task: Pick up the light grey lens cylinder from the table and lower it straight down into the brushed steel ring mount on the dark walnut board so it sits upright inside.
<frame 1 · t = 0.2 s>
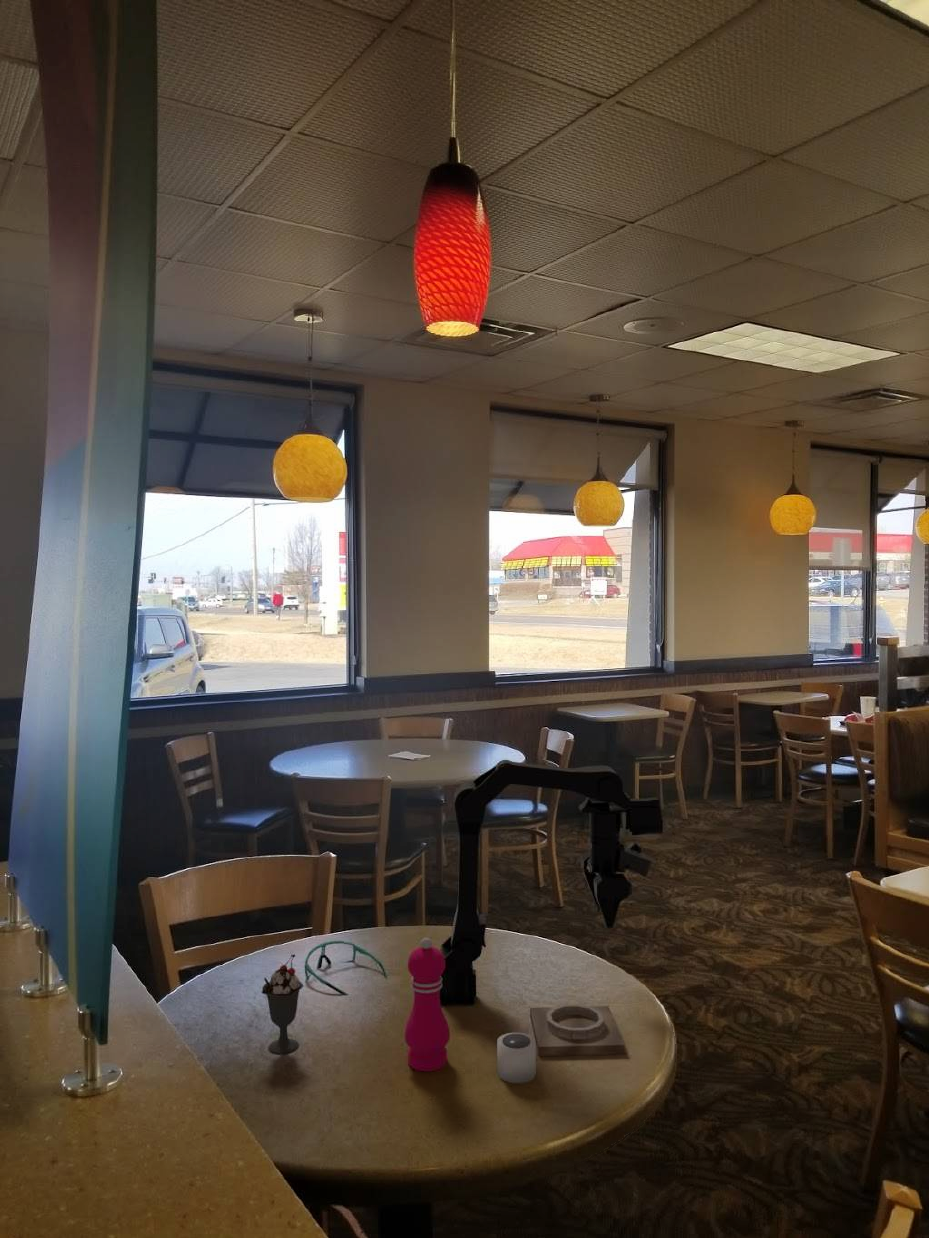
hand: (605, 918, 168), 15 cm above the table, tool pointing down, fingers open, 9 cm apart
pepper mill: (427, 1062, 145), on the table
mount board: (575, 1034, 153), on the table
sundae: (283, 1047, 150), on the table
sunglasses: (344, 978, 178), on the table
lens: (516, 1073, 141), on the table
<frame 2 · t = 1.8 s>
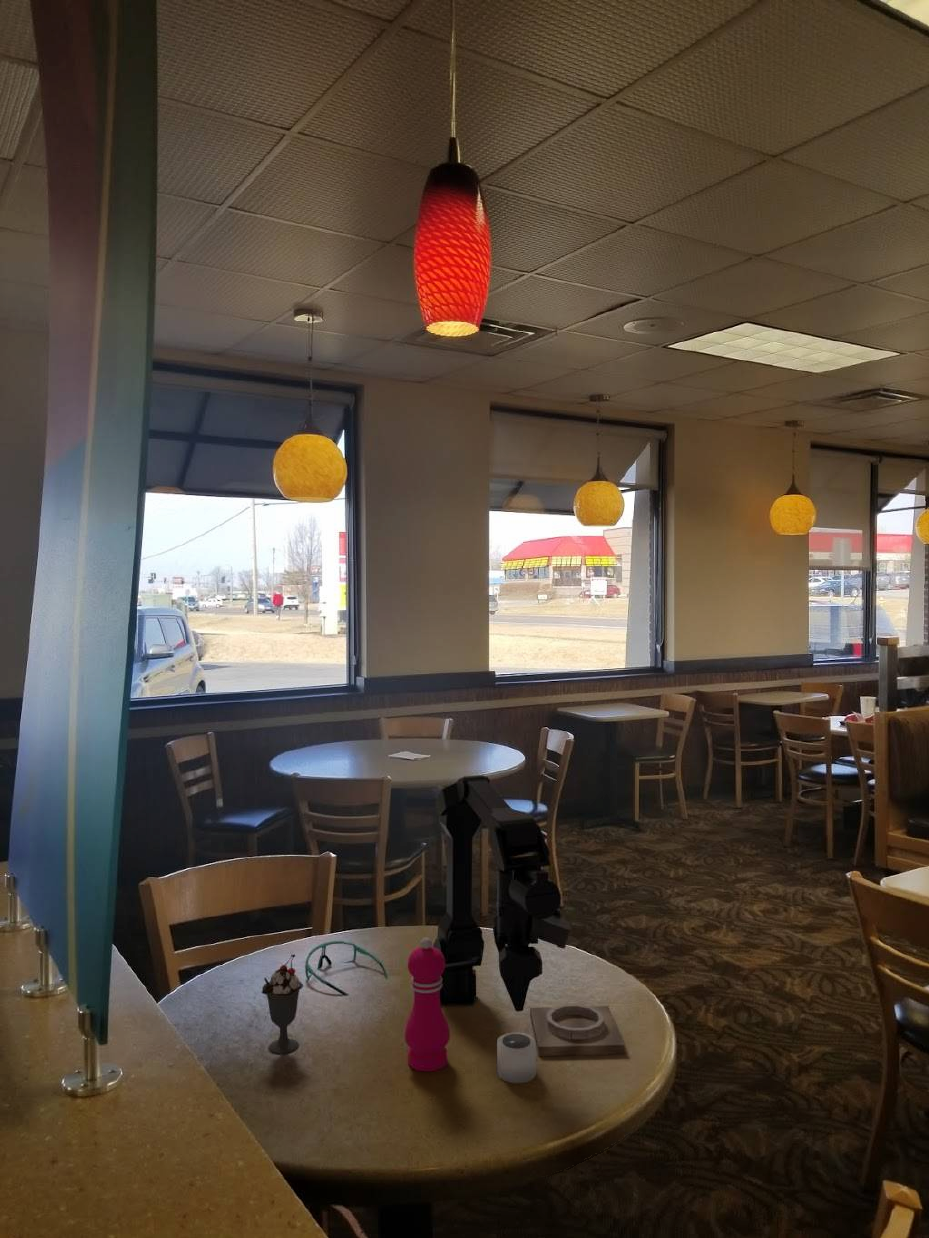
hand: (516, 997, 141), 12 cm above the table, tool pointing down, fingers open, 9 cm apart
nothing on the table moved.
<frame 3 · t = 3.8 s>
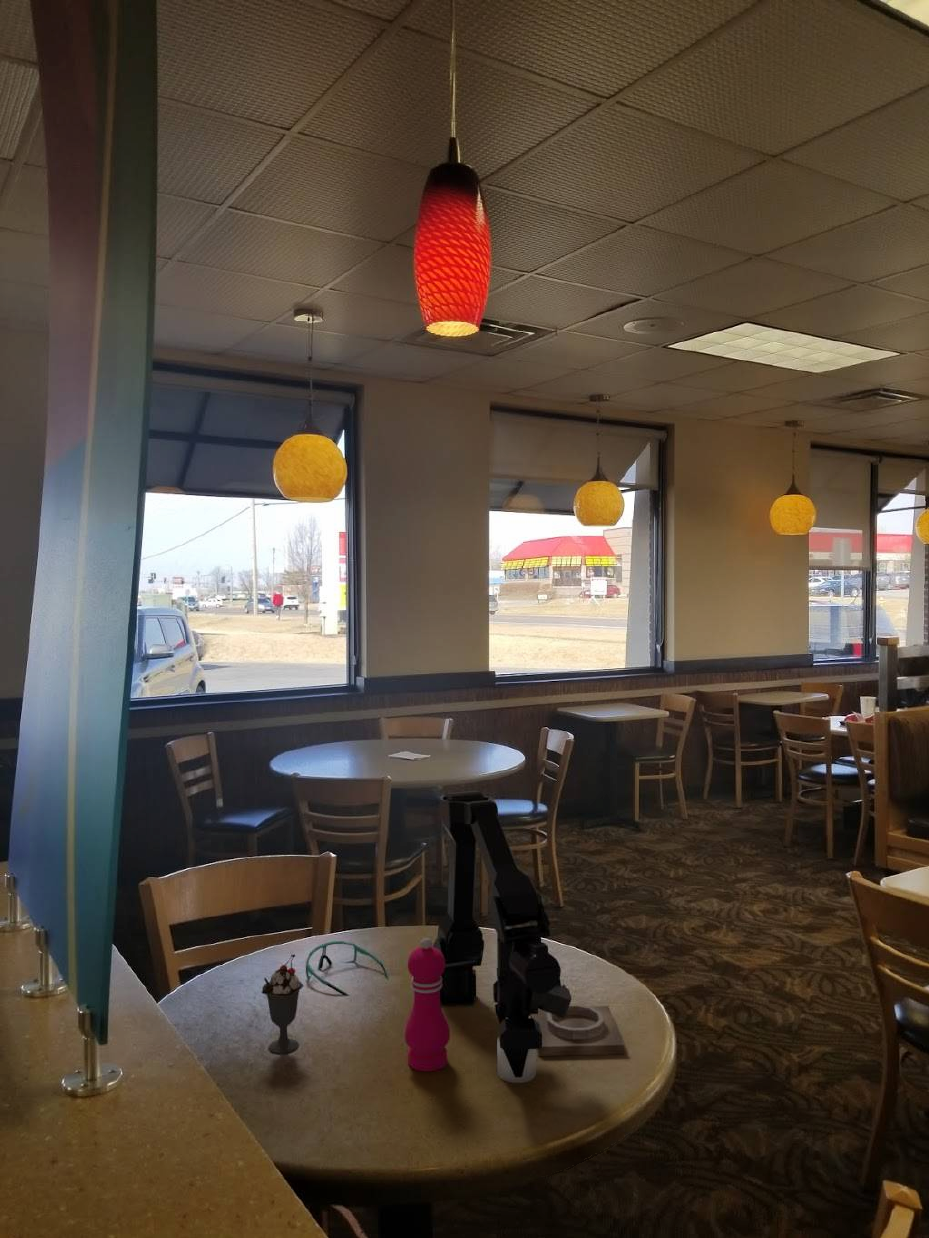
hand: (516, 1066, 141), 1 cm above the table, tool pointing down, fingers closed on lens, 6 cm apart
lens: (516, 1072, 141), on the table, touching gripper
everything else where it was.
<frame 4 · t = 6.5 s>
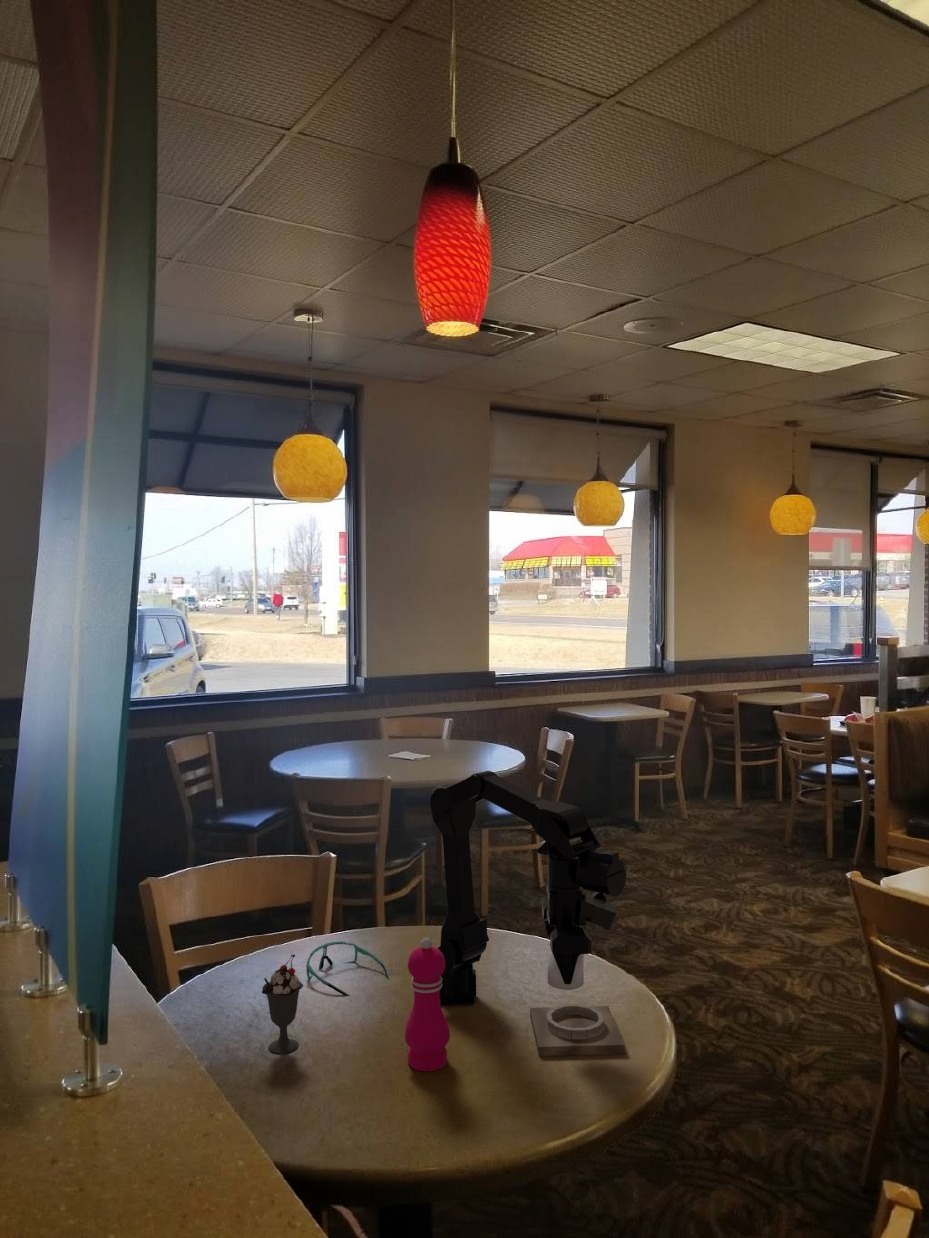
hand: (565, 975, 151), 11 cm above the table, tool pointing down, fingers closed on lens, 6 cm apart
lens: (565, 982, 151), point 10 cm above the table, touching gripper
everything else where it was.
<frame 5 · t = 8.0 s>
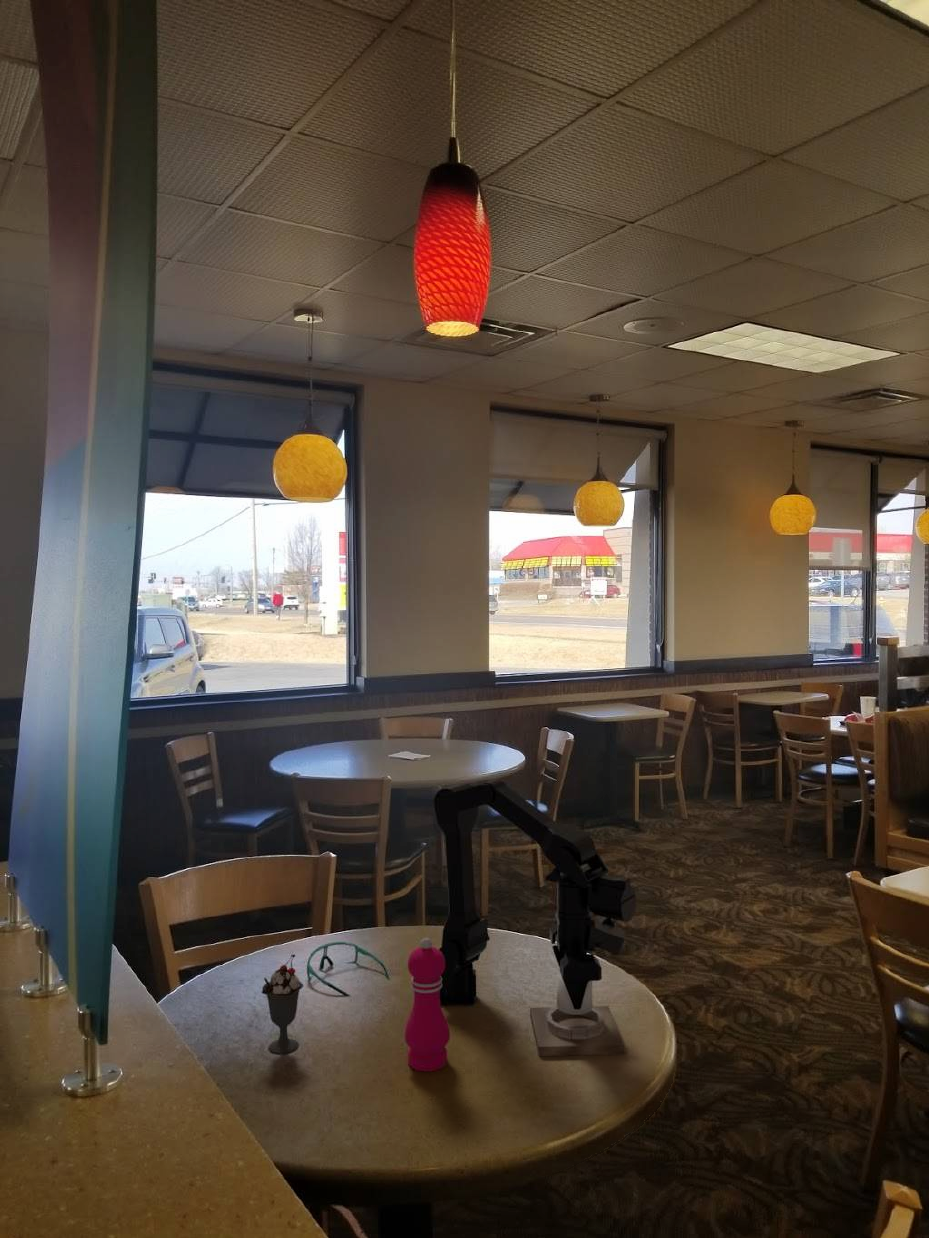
hand: (574, 1000, 153), 6 cm above the table, tool pointing down, fingers closed on lens, 6 cm apart
lens: (574, 1006, 153), point 5 cm above the table, touching gripper
everything else where it was.
when the fingers open (4 cm above the table, at t = 9.3 s): lens drops 1 cm, resting on mount board.
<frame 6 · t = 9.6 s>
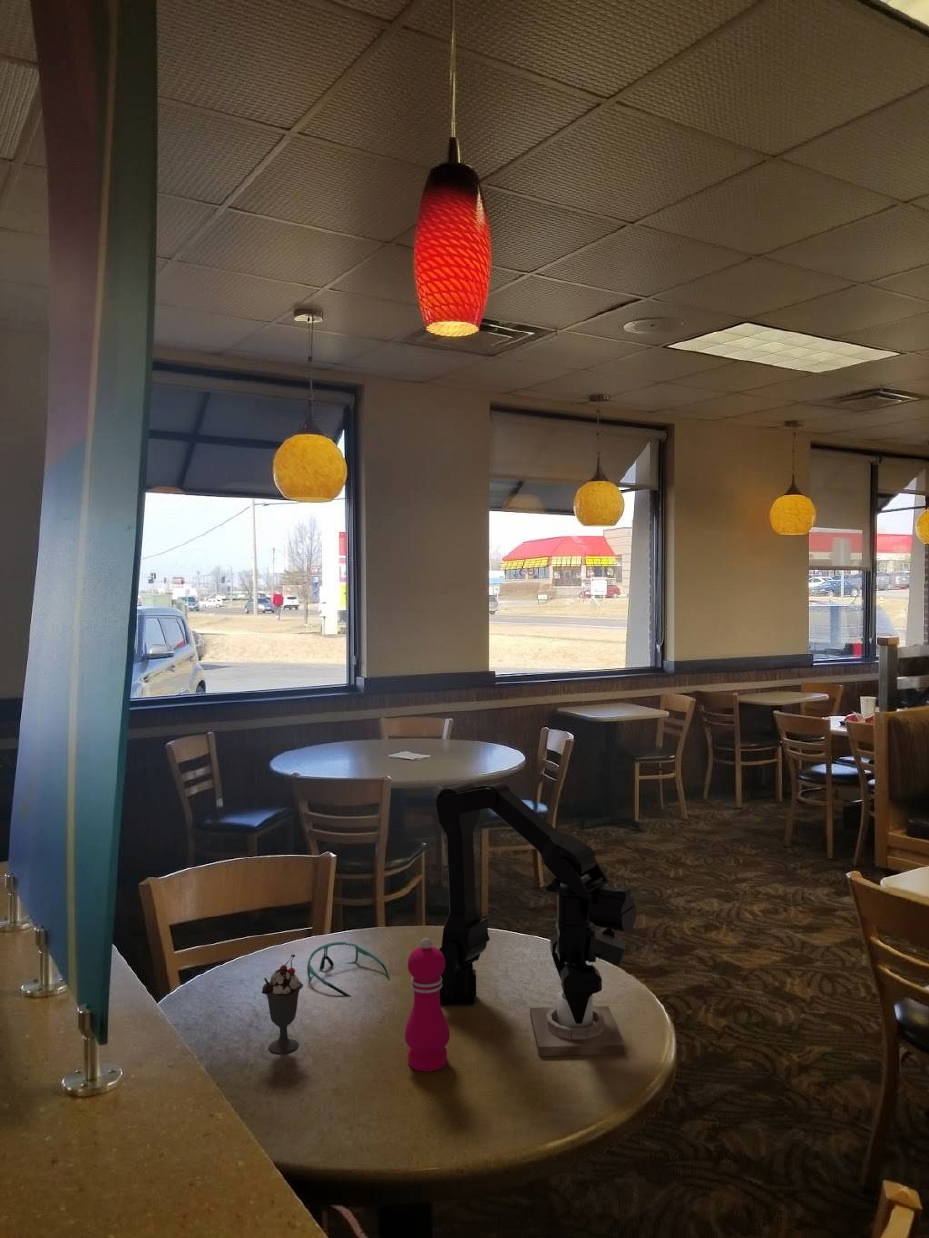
hand: (574, 1010, 153), 4 cm above the table, tool pointing down, fingers open, 9 cm apart
lens: (575, 1025, 153), point 1 cm above the table, touching mount board
everything else where it was.
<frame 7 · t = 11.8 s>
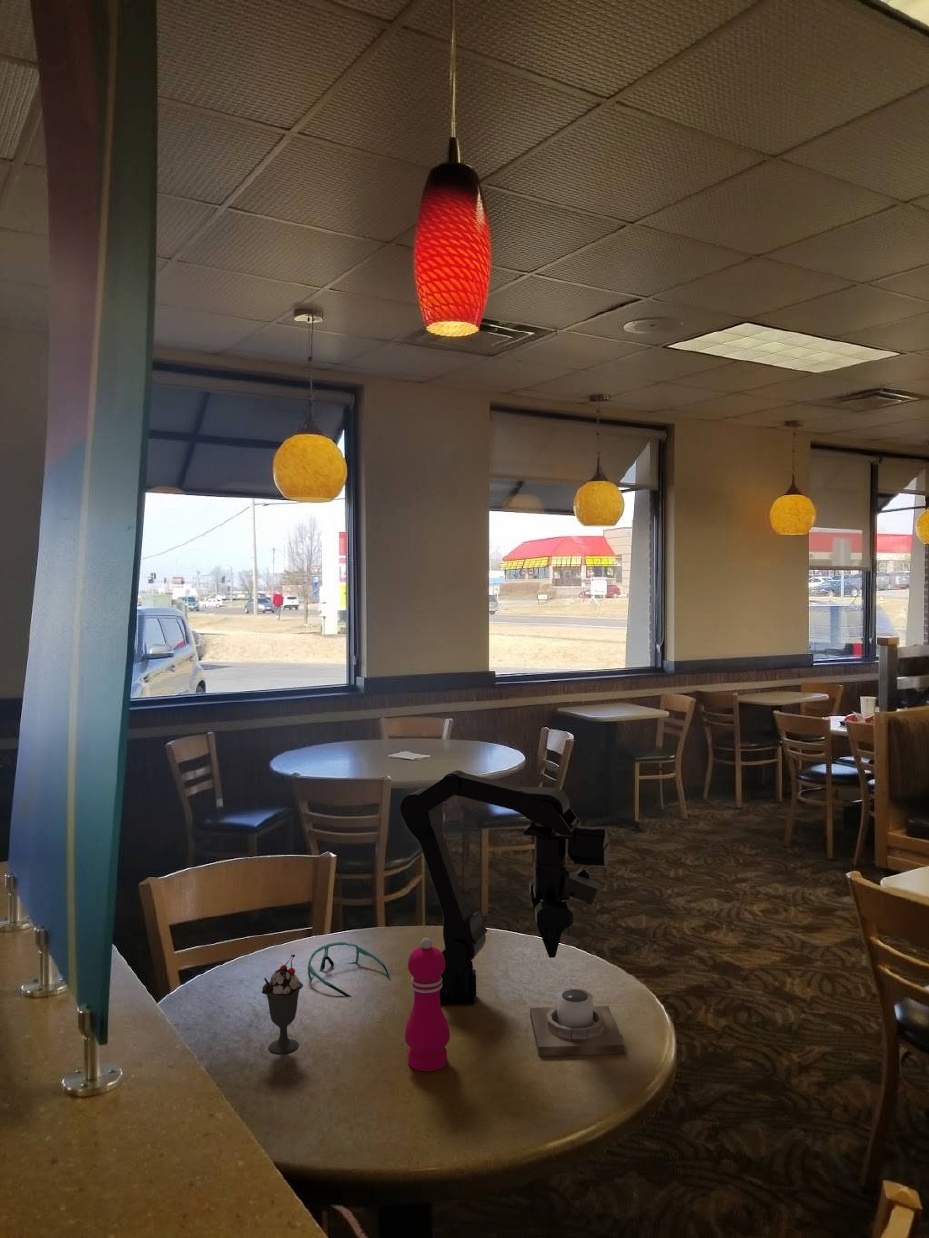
hand: (549, 947, 161), 12 cm above the table, tool pointing down, fingers open, 9 cm apart
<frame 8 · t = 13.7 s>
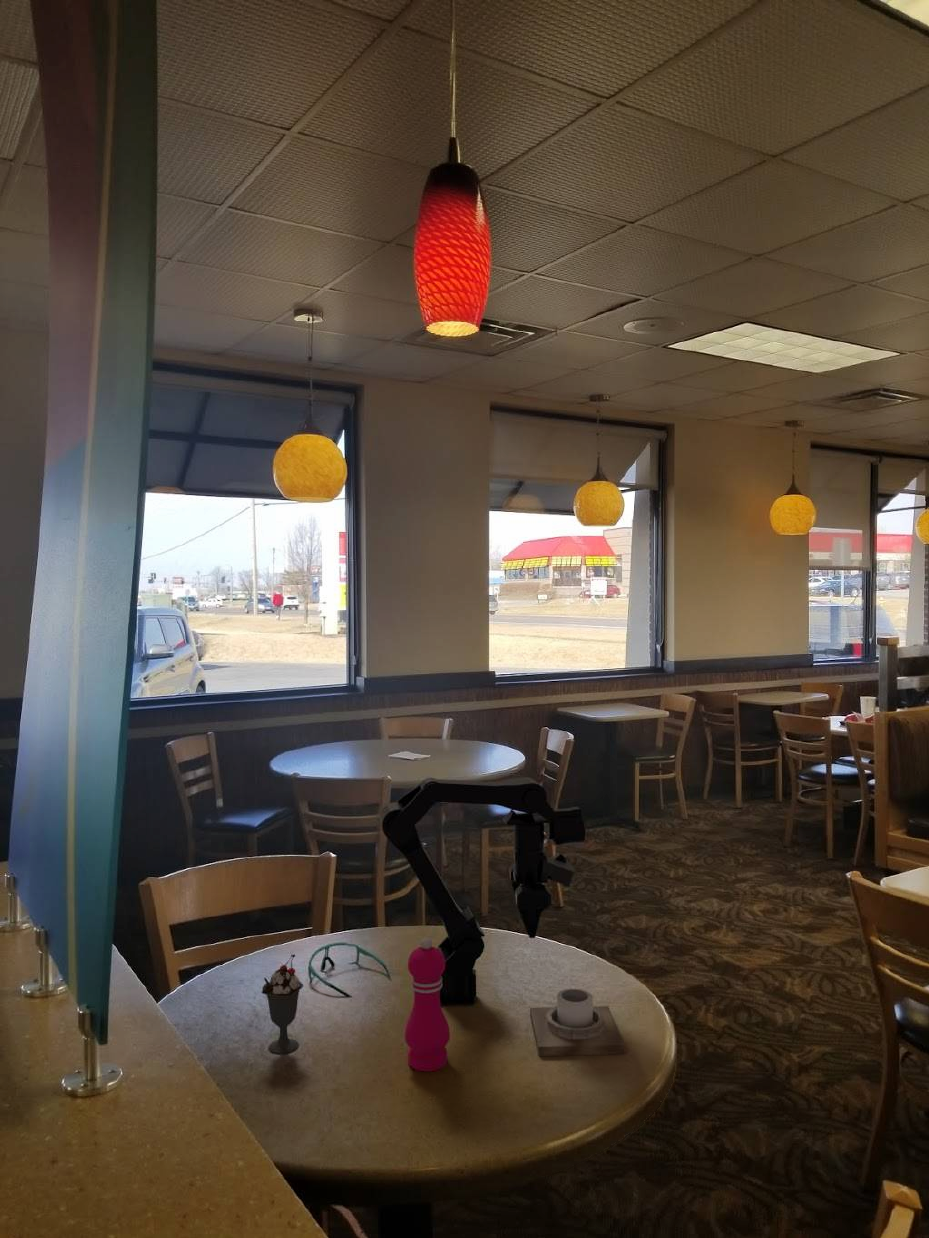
hand: (529, 928, 170), 12 cm above the table, tool pointing down, fingers open, 9 cm apart
at the end: lens 0.0 cm from the mount board (horizontally); lens tilted 0°; lens point 1.5 cm above the table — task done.
